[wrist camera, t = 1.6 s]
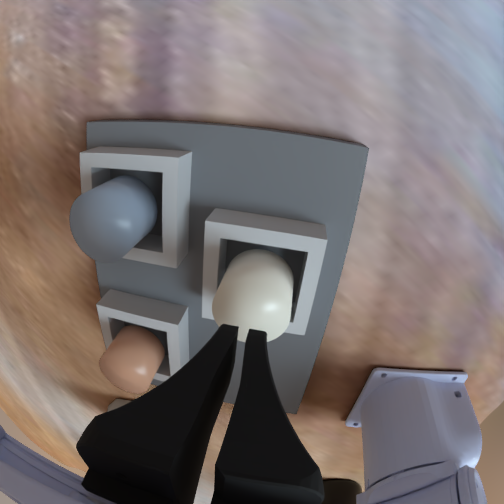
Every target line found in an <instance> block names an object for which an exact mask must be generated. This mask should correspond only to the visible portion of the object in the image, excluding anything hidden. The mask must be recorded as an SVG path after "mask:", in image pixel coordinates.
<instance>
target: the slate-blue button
mask: <svg viewBox="0 0 504 504" xmlns="http://www.w3.org/2000/svg"><path fill="white" fill-rule="evenodd" d="M157 213H158V210H157V203H156V200H155V197H154V195H153V193H152V191H151V190H150V189H149V187H148V186H147V185H146V184H145V183H144V182H142V181H141V180H139V179H138V178H136V177H133V176H128V175H123V176H118V177H116V178H113V179H111V180H109V181H107V182H105V183H103V184H101V185H99V186H97V187H95V188H93V189H91V190H89V191H87V192H85V193H83V194H81V195H80V196H79V197H78V198H77V199H76V200H75V201H74V203H73V205H72V207H71V211H70V228H71V231H72V234H73V237H74V239H75V241H76V243H77V244H78V246H79V247H80V248H81V250H82V251H83V252H84V253H85V254H87V255H88V256H89V257H91V258H92V259H94V260H96V261H99V262H102V263H113V262H116V261H118V260H120V259H121V258H122V257H123V256H125V255H126V254H127V253H128V252H129V251H130V250H131V249H132V248H133V247H134V246H135V245H136V244H137V243H138V242H139V241H141V240H142V239H143V238H144V237H145V236H146V235H147V234H148V233H149V232H150V231H151V230H152V229H153V227H154V225H155V223H156V220H157Z"/></svg>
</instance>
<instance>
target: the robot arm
mask: <svg viewBox="0 0 504 504" xmlns="http://www.w3.org/2000/svg"><path fill="white" fill-rule="evenodd" d="M238 329H239V327H238V326H233V325H228V324H222V325H220V327H219V328H218V330H217V331H216V332H215V334H214V335H213V336H212V337H211V339H210V340H209V341H208V342H207V343H206V344H205V345H204V346H203V347H202V349H201V350H200V351H199V352H198V353H197V354H196V355H195V356H194V357H193V358H192V359H191V360H190V361H188V362H187V363H186V364H185V365H184V366H183V367H182V368H181V369H180V370H178V371H177V372H176V373H175V374H174V375H172V376H171V377H170V378H168V379H167V380H166V381H164V382H163V383H161V384H160V385H158V386H157V387H155V388H154V389H152V390H151V391H149V392H148V393H146V394H144V395H142V396H141V397H139V398H137V399H135V400H133V401H131V402H129V403H127V404H125V405H123V406H121V407H118V408H116V409H113V410H111V411H108V412H106V413H103V414H100V415H98V416H95V417H94V419H93V420H92V421H91V422H90V424H89V425H88V426H87V427H86V429H85V431H84V432H83V434H82V436H81V438H80V439H79V441H78V443H77V445H76V448H77V451H78V453H79V455H80V456H81V457H82V459H83V460H84V462H85V463H86V464H87V466H88V467H89V469H88V471H87V473H86V475H85V477H84V478H83V477H80V476H79V475H77V474H74V473H72V472H70V471H69V470H67V469H65V468H63V467H61V466H59V465H57V464H55V463H54V462H52V461H50V460H48V459H46V458H45V457H43V456H41V455H40V454H38V453H36V452H34V451H33V450H31V449H30V448H28V447H26V446H24V445H23V444H22V443H20V442H18V441H17V440H15V439H14V438H12V437H11V436H9V435H8V434H7V433H6V432H5V431H4V429H3V428H2V426H1V425H0V491H2V492H3V493H4V494H6V495H7V496H8V497H10V498H11V499H12V500H14V501H15V502H17V503H18V504H193V503H194V498H195V494H196V490H197V486H198V482H199V478H200V474H201V470H202V466H203V462H204V458H205V455H206V451H207V447H208V443H209V440H210V436H211V433H212V430H213V427H214V424H215V422H216V419H217V416H218V414H219V411H220V409H221V406H222V403H223V401H224V398H225V395H226V393H227V390H228V387H229V385H230V381H231V377H232V373H233V369H234V364H235V357H236V348H237V338H238ZM383 373H385V374H383ZM467 377H468V375H467V373H466V372H446V371H422V370H405V369H391V368H375V369H373V370H372V372H371V374H370V376H369V378H368V380H367V382H366V384H365V386H364V388H363V390H362V392H361V394H360V395H359V397H358V399H357V401H356V403H355V405H354V407H353V408H352V410H351V412H350V414H349V416H348V417H347V419H346V421H345V425H346V426H349V427H361V428H362V441H363V457H364V479H365V492H363V493H360V494H357V495H356V504H487V500H486V496H485V492H484V488H483V485H482V482H481V479H480V477H479V474H478V472H477V470H476V469H475V466H476V464H477V463H478V460H479V458H480V454H481V448H482V435H481V431H480V427H479V424H478V421H477V418H476V415H475V412H474V409H473V406H472V404H471V401H470V398H469V395H468V393H467V390H466V387H465V385H464V382H465V381H466V379H467ZM323 500H324V485H323V480H322V476H321V472H320V469H319V467H318V466H317V464H316V463H315V462H314V460H313V459H312V458H311V456H310V455H309V453H308V452H307V450H306V449H305V447H304V446H303V444H302V443H301V441H300V439H299V438H298V436H297V434H296V432H295V430H294V429H293V427H292V425H291V423H290V421H289V419H288V417H287V415H286V413H285V410H284V408H283V406H282V403H281V401H280V398H279V395H278V392H277V389H276V386H275V383H274V379H273V376H272V372H271V367H270V363H269V357H268V350H267V333H266V332H265V331H261V330H255V329H249V331H248V334H247V337H246V341H245V349H244V357H243V365H242V373H241V380H240V386H239V390H238V393H237V397H236V400H235V404H234V407H233V411H232V414H231V418H230V421H229V424H228V428H227V431H226V434H225V437H224V440H223V443H222V446H221V449H220V452H219V455H218V458H217V461H216V464H215V483H214V494H213V497H212V501H211V504H321V503H322V502H323Z"/></svg>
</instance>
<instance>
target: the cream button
mask: <svg viewBox="0 0 504 504" xmlns="http://www.w3.org/2000/svg"><path fill="white" fill-rule="evenodd" d="M293 284H294V278H293V273H292V270H291V268H290V266H289V265H288V264H287V262H286V261H285V260H284V259H283V258H282V257H280V256H279V255H277V254H275V253H273V252H271V251H267V250H262V249H252V250H247V251H244V252H242V253H240V254H238V255H237V256H236V257H234V259H233V260H232V261H231V262H230V264H229V266H228V268H227V270H226V272H225V274H224V276H223V279H222V281H221V283H220V285H219V287H218V290H217V292H216V294H215V296H214V298H213V302H212V314H213V317H214V320H215V322H216V323H217V325H218V326H219V327H220V325H222V324H228V325H233V326H238V327H239V329H238V338H237V340H239V341H242V342H245V341H246V337H247V334H248V331H249V329H255V330H261V331H265V332H266V333H267V342H269V341H272V340H274V339H276V338H278V337H279V336H280V335H282V334H283V333H284V332H285V330H286V329H287V327H288V325H289V322H290V317H291V307H292V296H293Z"/></svg>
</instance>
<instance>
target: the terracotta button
mask: <svg viewBox="0 0 504 504" xmlns="http://www.w3.org/2000/svg"><path fill="white" fill-rule="evenodd" d="M164 356H165V350H164V347H163V345H162V343H161V341H160V340H159V339H158V338H157V337H156V336H155V335H154V334H153V333H152V332H150V331H148V330H147V329H145V328H142V327H140V326H136V325H128V326H125V327H123V328H122V329H121V330H120V332H119V333H118V334H117V336H116V337H115V338H114V340H113V341H112V343H111V344H110V345H109V347H108V348H107V350H106V351H105V352H104V354H103V355H102V357H101V358H100V360H99V366H100V369H101V371H102V373H103V374H104V376H105V377H106V378H107V379H108V380H109V381H110V382H111V383H112V384H114V385H115V386H117V387H118V388H120V389H122V390H124V391H127V392H130V393H135V394H140V393H144V392H146V391H147V389H148V388H149V386H150V384H151V382H152V380H153V378H154V376H155V374H156V372H157V370H158V368H159V366H160V364H161V362H162V360H163V358H164Z"/></svg>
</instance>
